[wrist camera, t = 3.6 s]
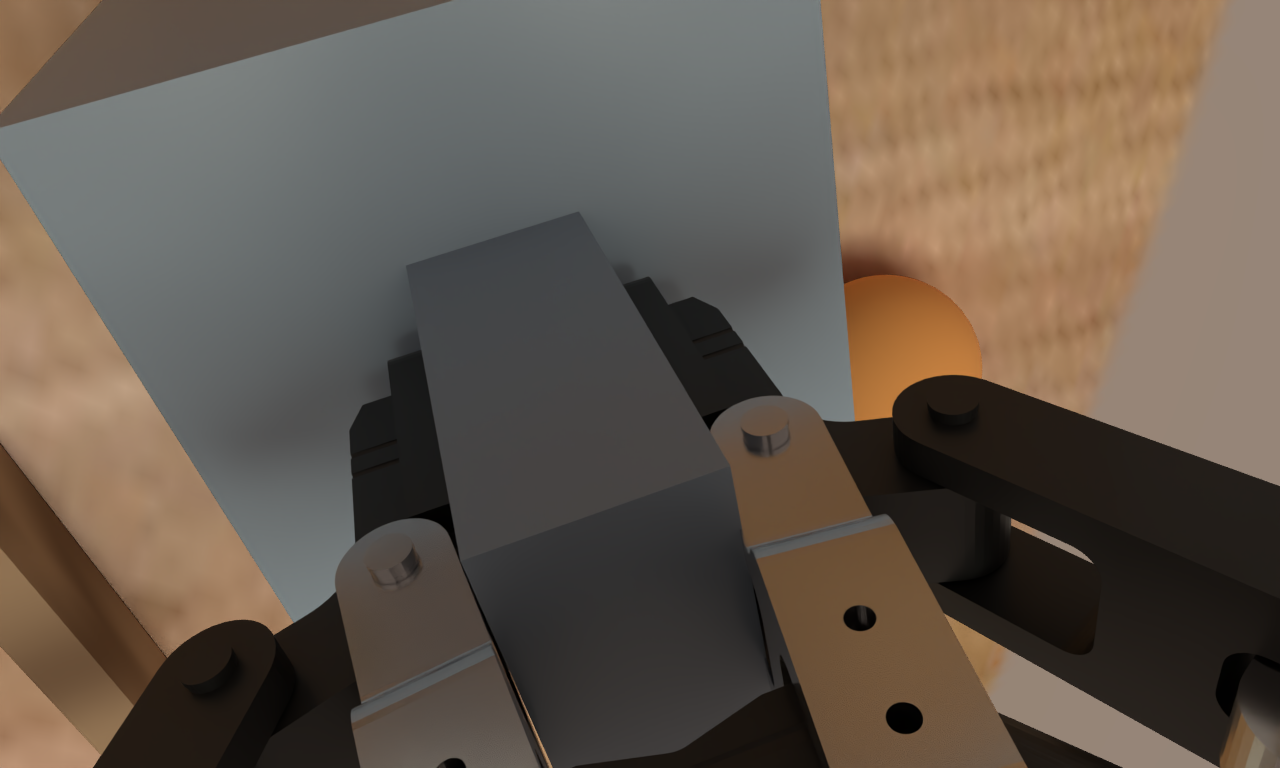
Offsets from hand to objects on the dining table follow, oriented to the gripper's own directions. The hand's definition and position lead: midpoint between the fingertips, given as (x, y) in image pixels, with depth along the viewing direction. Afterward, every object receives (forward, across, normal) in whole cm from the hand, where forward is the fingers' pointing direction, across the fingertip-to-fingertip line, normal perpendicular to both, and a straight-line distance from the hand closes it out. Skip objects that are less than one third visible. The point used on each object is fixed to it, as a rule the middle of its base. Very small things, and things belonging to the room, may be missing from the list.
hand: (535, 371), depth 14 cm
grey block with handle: (+9, 0, 0) cm, 9 cm away
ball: (+7, -9, +8) cm, 14 cm away
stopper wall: (+10, +13, +8) cm, 18 cm away
